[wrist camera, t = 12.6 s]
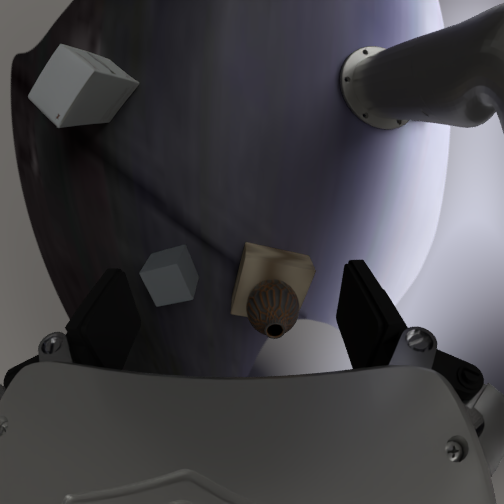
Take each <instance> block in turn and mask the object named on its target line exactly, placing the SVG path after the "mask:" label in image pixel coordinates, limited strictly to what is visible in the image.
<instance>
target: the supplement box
mask: <svg viewBox="0 0 504 504" xmlns="http://www.w3.org/2000/svg"><path fill="white" fill-rule="evenodd" d="M138 85H139V82H137V81H136V80H134V79H133V78H132V77H130V76H129V75H128V74H127V73H125V72H124V71H123V70H122V69H120V68H119V67H118V66H117V65H115V64H114V63H113V62H112V61H111V60H110V59H107V58H104V57H101V56H99V55H96V54H93V53H90V52H87V51H84V50H80V49H77V48H73V47H70V46H66V45H63V44H60V45H59V47H58V48H57V50H56V51H55V52H54V54H53V55H52V57H51V58H50V60H49V61H48V63H47V65H46V66H45V68H44V69H43V71H42V73H41V74H40V76H39V78H38V80H37V81H36V83H35V85H34V86H33V88H32V90H31V92H30V93H29V95H28V98H29V99H30V100H31V101H32V102H33V103H34V104H35V105H36V106H37V107H38V108H39V109H40V110H41V111H42V112H43V114H45V115H46V116H47V117H48V118H49V119H50V120H51V121H52V122H53V123H54V124H55V125H56V126H57V127H58V128H63V127H70V126H78V125H88V124H98V123H109V122H110V121H111V120H112V118H113V117H114V116H115V114H116V113H117V112H118V110H119V109H120V108H121V106H122V105H123V104H124V103H125V101H126V100H127V99H128V98H129V96H130V95H131V94H132V93H133V91H134V90H135V89H136V88H137V87H138Z"/></svg>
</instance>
